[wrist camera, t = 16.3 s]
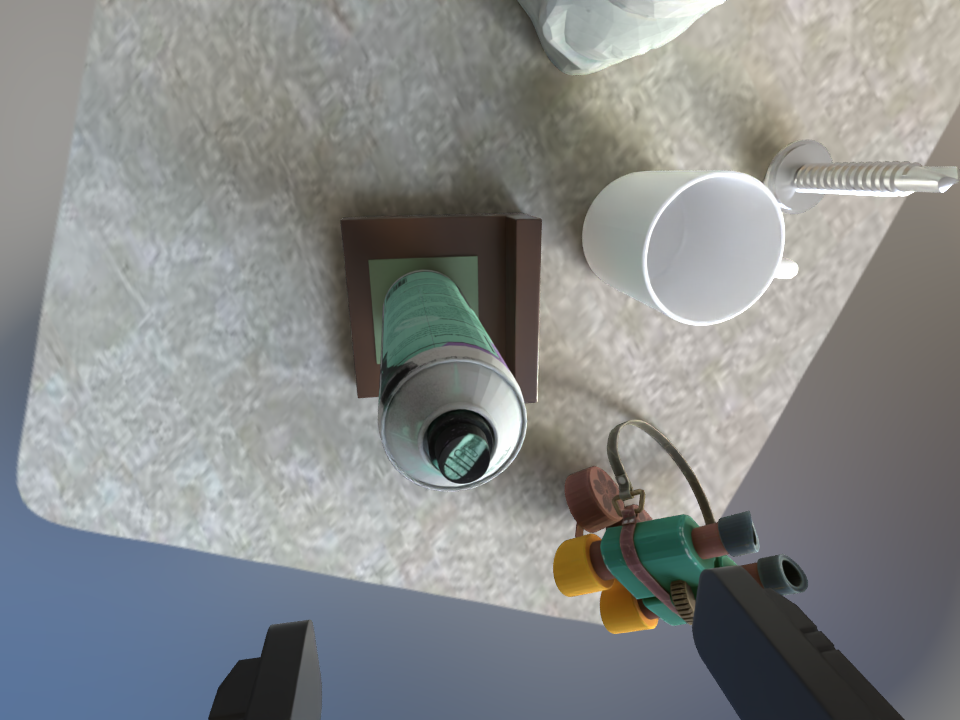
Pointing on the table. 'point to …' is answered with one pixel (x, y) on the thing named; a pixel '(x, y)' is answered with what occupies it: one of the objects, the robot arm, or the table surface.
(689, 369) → the table surface
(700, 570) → the binoculars
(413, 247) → the brown wooden square frame
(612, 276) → the cup
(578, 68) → the teapot
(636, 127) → the table surface
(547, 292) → the table surface
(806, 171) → the screw
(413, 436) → the spray can
